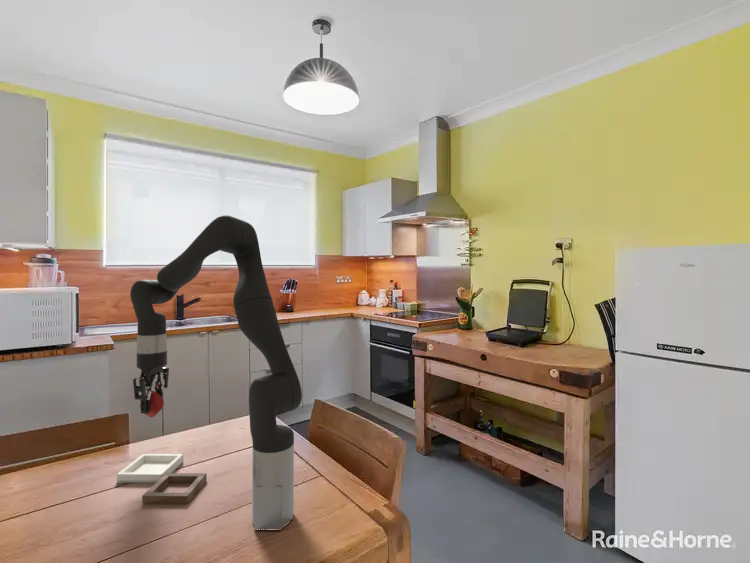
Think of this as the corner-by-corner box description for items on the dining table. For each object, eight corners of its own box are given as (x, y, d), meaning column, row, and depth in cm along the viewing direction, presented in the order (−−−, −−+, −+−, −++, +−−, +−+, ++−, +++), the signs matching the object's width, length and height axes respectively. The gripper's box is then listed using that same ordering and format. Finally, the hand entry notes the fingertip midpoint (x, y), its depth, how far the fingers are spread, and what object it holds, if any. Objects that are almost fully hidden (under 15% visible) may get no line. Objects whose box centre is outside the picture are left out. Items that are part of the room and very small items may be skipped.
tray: (161, 483, 105) (161, 474, 105) (116, 483, 105) (116, 474, 105) (183, 462, 117) (183, 454, 117) (143, 461, 117) (143, 453, 117)
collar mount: (187, 504, 95) (187, 496, 95) (142, 503, 95) (142, 495, 95) (206, 480, 106) (206, 473, 106) (166, 480, 106) (166, 473, 106)
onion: (135, 418, 109) (135, 390, 109) (155, 412, 115) (155, 385, 114) (148, 422, 107) (148, 393, 107) (168, 415, 112) (167, 388, 112)
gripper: (150, 355, 103) (150, 418, 103) (178, 345, 118) (178, 401, 118) (122, 355, 103) (122, 418, 103) (153, 345, 118) (153, 401, 118)
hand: (152, 408), depth 111 cm, fingers closed on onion, 6 cm apart
